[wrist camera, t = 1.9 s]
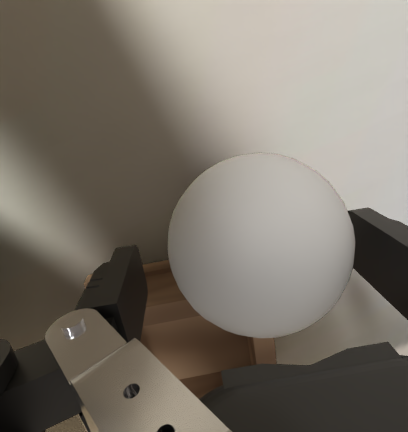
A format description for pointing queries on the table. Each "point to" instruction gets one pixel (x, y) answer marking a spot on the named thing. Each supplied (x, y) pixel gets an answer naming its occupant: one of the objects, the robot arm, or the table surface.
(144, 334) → the wooden tray
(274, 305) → the lightbulb
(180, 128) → the table surface
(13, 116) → the table surface
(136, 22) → the table surface
